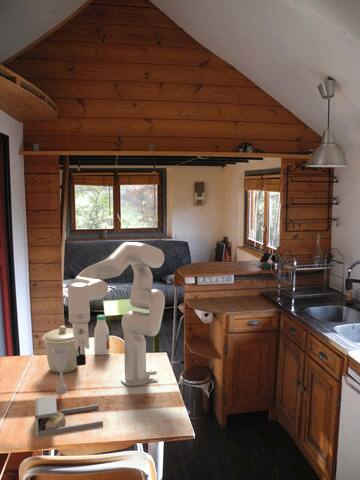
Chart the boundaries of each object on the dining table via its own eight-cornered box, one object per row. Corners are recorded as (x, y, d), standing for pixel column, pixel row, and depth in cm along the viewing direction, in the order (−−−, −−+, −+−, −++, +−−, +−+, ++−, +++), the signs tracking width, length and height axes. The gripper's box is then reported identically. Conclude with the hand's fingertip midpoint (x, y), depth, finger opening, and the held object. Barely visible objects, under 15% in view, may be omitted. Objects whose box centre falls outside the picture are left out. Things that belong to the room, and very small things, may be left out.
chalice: (65, 395, 181) (63, 353, 179) (50, 393, 183) (48, 352, 180) (73, 387, 189) (71, 347, 186) (58, 385, 190) (57, 346, 188)
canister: (42, 379, 196) (40, 334, 193) (45, 362, 214) (43, 321, 211) (83, 374, 200) (82, 330, 198) (83, 359, 218) (81, 318, 215)
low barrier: (98, 407, 171) (98, 389, 170) (103, 425, 159) (102, 405, 158) (36, 417, 164) (35, 398, 163) (36, 436, 152) (35, 415, 151)
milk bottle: (102, 356, 221) (101, 318, 218) (91, 353, 225) (90, 316, 222) (112, 351, 228) (111, 314, 225) (101, 348, 232) (100, 312, 229)
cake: (60, 417, 166) (61, 403, 165) (70, 429, 158) (71, 415, 157) (34, 423, 160) (35, 409, 160) (43, 436, 152) (44, 422, 152)
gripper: (92, 322, 153) (93, 371, 155) (87, 309, 167) (89, 355, 169) (70, 324, 150) (72, 374, 153) (67, 311, 164) (69, 358, 167)
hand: (81, 364), depth 161 cm, fingers closed
